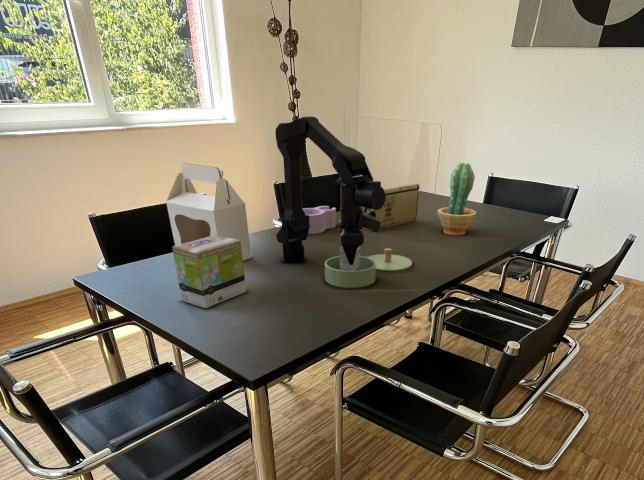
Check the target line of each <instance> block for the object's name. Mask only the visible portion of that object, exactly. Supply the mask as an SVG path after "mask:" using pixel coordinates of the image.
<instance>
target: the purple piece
mask: <svg viewBox="0 0 644 480" xmlns="http://www.w3.org/2000/svg"><path fill="white" fill-rule="evenodd" d="M302 209H303V211H304V212H305V214H306V215H309V225H310V228H309V232H308V235H317V234H321V233H323V232H325V231H326V230H328V229H333V228H336V227H337V212H336V211H337V208H336V207H331V208H330V206H329V205H320V206H316V207H302Z"/></svg>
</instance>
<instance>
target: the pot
mask: <svg viewBox="0 0 644 480" xmlns="http://www.w3.org/2000/svg"><path fill="white" fill-rule="evenodd" d="M368 257H369V256H363V255H360V269H359V271H343V270H341V269H340V255H336V256H332V257H330V258H327V259H326V260H325V261H324V280H325V282H326V283H328V284H329V285H331V286H335V287H339V288H346V289H347V288H349V289H350V288H351V289H352V288H355V289H356V288H363V287H367V286H370V285H372V284H374V283H375V281H376V280H377V270H376V262H375V261H374V260H373V259H370V258H368Z"/></svg>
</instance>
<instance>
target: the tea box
mask: <svg viewBox="0 0 644 480" xmlns="http://www.w3.org/2000/svg"><path fill="white" fill-rule="evenodd" d="M171 248H172V249H171V250H172V255H173V259H174V265H175V271H176V278H177V283H178V288H179V293H180V298H181V301H182V302H185V303H188V304H191V305H194V306H197V307H200V308H204V309H208V308H210V307H212V306H214V305H217V304H219V303H222V302H224V301H227V300H229V299H232V298H234V297H237V296H239V295H242V294H245V293H246V292H247V287H246V277H245V269H244V268H245V267H244V261H243V258H242V247H241V241H240V240H236V239H232V238H227V237H223V236H218V235H213V236H209V237H206V238H202V239H198V240H195V241H191V242H187V243H184V244H180V245H176V246H175V245H173V246H172V247H171Z"/></svg>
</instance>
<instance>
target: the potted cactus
mask: <svg viewBox="0 0 644 480" xmlns="http://www.w3.org/2000/svg"><path fill="white" fill-rule="evenodd" d="M475 178H476V176H475V173H474V171H473V168H472V166H471V164H470V162H467V163H465V162H462V163H461V162H459V163H457V164H456V166H455V167H454V168H453V170H452V171H451V173H450V179H449V189H450V190H449V191H450V197H449V202H448V206H447V207H441V208H438V209H437V211H436V212H437V216H438V218H439V222H440V224H441V226H442V228H443V231H442V233H444V234H446V235H450V236H462V235H466V230H467V229H468V228H469V226H470V225H471V223H472V221H473V219H475V217H476V215H477V211H475V210H474V209H471V208H466V205H467V203H468V198H469V196H470V194H471V192H472V191H473V187H474V183H475Z"/></svg>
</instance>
